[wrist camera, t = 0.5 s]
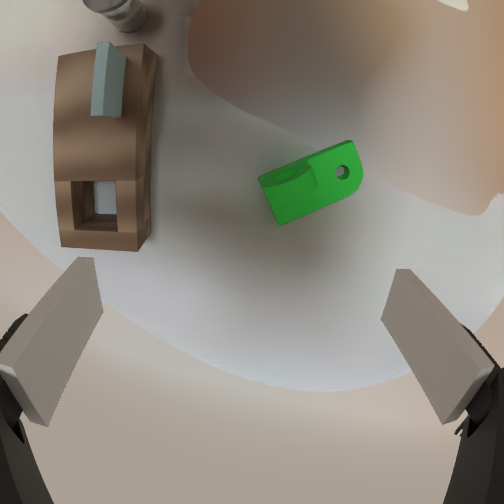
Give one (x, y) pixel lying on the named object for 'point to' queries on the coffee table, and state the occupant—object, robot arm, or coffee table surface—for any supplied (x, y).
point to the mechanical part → (312, 182)
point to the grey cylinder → (120, 12)
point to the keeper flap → (108, 81)
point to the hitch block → (103, 152)
